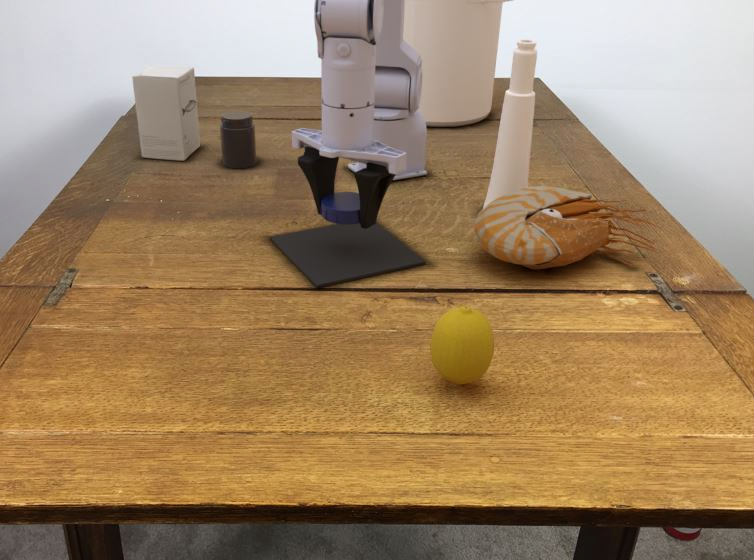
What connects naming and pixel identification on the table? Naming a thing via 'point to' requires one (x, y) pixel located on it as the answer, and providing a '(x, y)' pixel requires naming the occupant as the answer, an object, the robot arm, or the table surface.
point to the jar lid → (341, 208)
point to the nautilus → (548, 227)
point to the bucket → (454, 57)
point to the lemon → (462, 345)
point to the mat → (345, 253)
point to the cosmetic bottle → (515, 126)
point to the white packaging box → (167, 112)
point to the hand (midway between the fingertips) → (346, 218)
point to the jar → (238, 139)
